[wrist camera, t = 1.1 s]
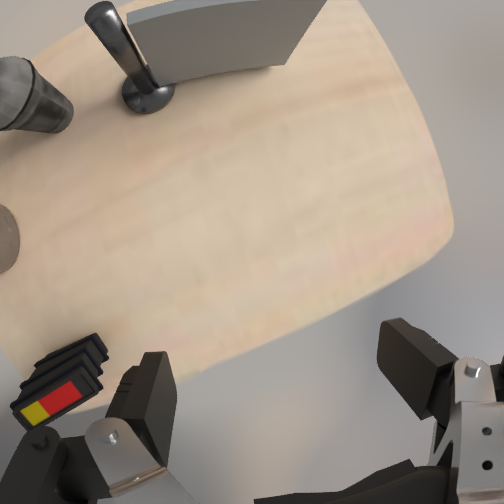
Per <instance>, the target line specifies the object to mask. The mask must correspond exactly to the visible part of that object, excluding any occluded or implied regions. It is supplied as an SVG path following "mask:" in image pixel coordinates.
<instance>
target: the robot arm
mask: <svg viewBox="0 0 504 504" xmlns="http://www.w3.org/2000/svg"><path fill="white" fill-rule="evenodd" d="M19 244H20V242H19V232H18V227H17V224H16V221H15V219H14V217H13V215H12V214H11V212H10V211H9V210H8V209H7V208H6V207H4V206H2V205H0V273H1V272H3V271H6V270H8V269H9V268H10V267H12V265H13V264H14V263H15V261H16V259H17V256H18V252H19ZM377 363H378V367H379V369H380V370H381V372H382V373H383V374H384V375H385V376H386V378H387V379H388V380H389V381H390V383H391V384H392V385H393V386H394V388H395V389H396V390H397V391H398V393H399V394H400V395H401V396H402V397H403V399H404V400H405V401H406V402H407V404H408V405H409V406H410V407H411V409H412V410H413V411H414V412H415V414H416V415H417V416H418V417H419V419H420V420H423V419H426V418H428V417H430V416H434V417H435V419H436V421H435V423H434V430H433V437H432V444H431V450H430V456H429V462H428V465H427V466H420V467H414V465H413V463H412V462H411V460H410V459H408V460H405V461H403V462H400V463H398V464H395V465H393V466H390V467H387V468H385V469H382V470H379V471H376V472H375V473H373V474H371V475H370V476H368V477H366V478H364V479H363V480H361V481H359V482H358V483H356V484H354V485H352V486H350V487H348V488H346V489H344V490H343V491H338V492H324V493H293V494H287V495H281V496H274V497H268V498H259V499H254V504H504V356H503V359H502V362H501V364H496V365H491V366H489V365H488V364H487V363H486V362H485V361H484V360H482V359H479V358H476V357H464V358H461V359H459V358H457V357H456V356H455V355H454V354H452V353H451V352H450V351H449V350H448V349H446V348H445V347H444V346H442V345H441V344H440V343H439V344H438V342H437V341H436V340H435V339H434V338H432V337H431V336H430V335H429V334H427V333H426V332H425V331H423V330H420V329H418V328H415V327H412V326H411V325H410V324H409V323H407V322H406V321H405V320H403V319H402V318H395V319H391V320H387V321H383V322H382V323H381V326H380V333H379V342H378V350H377ZM176 403H177V391H176V385H175V381H174V378H173V374H172V370H171V366H170V362H169V358H168V355H167V353H166V352H165V351H161V352H145V353H144V355H143V358H142V360H141V363H140V365H139V366H132V367H131V368H130V369H129V370H128V371H126V372H125V373H124V374H123V377H122V379H121V381H120V385H119V386H118V388H117V390H116V393H115V395H114V397H113V399H112V402H111V404H110V406H109V409H108V411H107V413H106V416H105V418H103V419H100V420H98V421H96V422H94V423H92V424H91V425H90V426H89V427H88V429H87V430H86V432H85V435H83V436H78V437H69V438H61V437H60V436H59V434H58V433H57V431H56V430H55V429H53V428H51V427H48V426H39V427H36V428H33V429H31V430H29V431H28V432H27V433H26V434H25V435H24V436H23V438H22V440H21V442H20V443H19V445H18V447H17V449H16V451H15V453H14V455H13V457H12V459H11V461H10V463H9V465H8V467H7V469H6V471H5V473H4V475H3V478H2V480H1V482H0V504H97V500H98V499H103V498H111V497H113V499H114V501H115V502H116V504H200V503H198V502H197V500H196V499H195V498H194V497H193V496H192V495H191V494H190V493H189V492H188V491H187V490H186V489H185V488H184V487H183V486H182V485H181V484H180V483H179V482H178V480H177V479H176V478H175V477H174V476H173V475H172V474H171V473H170V472H169V470H167V464H168V457H169V449H170V442H171V435H172V429H173V422H174V416H175V410H176Z"/></svg>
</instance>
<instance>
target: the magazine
mask: <svg viewBox="0 0 504 504" xmlns="http://www.w3.org/2000/svg"><path fill="white" fill-rule="evenodd" d="M107 352H108V350H107V348H106V346H105V345H104V343H103V342H102V340H101V339H100V337H99V336H98V334H97V333H94V334H92V335H90V336H87V337H85V338H83V339H81V340H79V341H77V342H74V343H72V344H70V345H68V346H66V347H63V348H61V349H59V350H57V351H55V352H53V353H50V354H48V355H47V356H46V357H45V358H44V359H42V360H40V361H38V362H36V364H35V365H34V366H35V368H36V369H35V371H34V372H33V373H32V375H31V376H30V378H29V379H28V380H26V381H24V382H22V383H21V385H20V388H21V390H22V391H21V393H20V395H19V397H18V399H17V400H16V401H14V402H12V403H11V404H10V408H11V409H12V410H13V415H14V417H15V418H16V419H17V420H18V421H19V423H20V424H21V425H22V426H23V427H24V428H25V429H26V430H27V432H28V431H29V430H31V429H33V428H36V427H39V426H45V425H46V424H48V423H50V422H51V421H54V420H55V419H57V418H58V417H60V416H62V415H64V414H65V413H67V412H69V411H70V410H72V409H74V408H76V407H77V406H79V405H81V404H82V403H84V402H86V401H87V400H89V399H90V398H92V397H94V396H95V395H97V394H98V393H99V391H101V390H102V389H103V385H102V384H101V383H100V381H99V380H98V379H97V377H98V376H100V375H102V374H103V370H102V369H101V367H100V366H101V363H103V362H105V361H107V360H108V359H109V357H108V355H107Z"/></svg>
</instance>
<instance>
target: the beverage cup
mask: <svg viewBox="0 0 504 504" xmlns="http://www.w3.org/2000/svg"><path fill="white" fill-rule="evenodd" d="M72 117H73V105H72V103H71V102H70V101H69V100H68V99H67V98H66V97H65V96H64V95H63V94H62V93H61V92H60V91H58V90H57V89H56V88H55V87H54V86H53V85H51V84H50V83H49V82H48V81H47V80H45V79H44V78H43V77H42V76H41V75H40V74H39V73H38V71H37V70H36V69H35V68H34V66H33V64H32V63H31V61H29V60H27V59H25V58H19V57H15V56H9V57H3V58H0V131H6V130H12V129H17V130H27V131H36V132H45V133H58V132H61V131H62V130H64V129H65V128H66V127H67V126H68V125H69V123H70V122H71V120H72Z"/></svg>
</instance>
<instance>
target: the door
mask: <svg viewBox="0 0 504 504" xmlns="http://www.w3.org/2000/svg"><path fill="white" fill-rule="evenodd" d="M326 1H327V0H174V1H169V2H165V3H161V4H157V5H153V6H149V7H146V8H142V9H139V10H135V11H132V12H129V13H126V15H127V26H128V28H129V29H130V31H131V33H132V35H133V37H134V39H135V41H136V43H137V45H138V47H139V49H140V51H141V52H142V54H143V56H144V58H145V60H146V62H147V64H148V66H149V68H150V70H151V72H152V73H153V75H154V77H155V79H156V81H157V83H158V85H159V87H161V86H165V85H168V84H172V83H176V82H181V81H185V80H189V79H194V78H198V77H203V76H208V75H213V74H219V73H224V72H230V71H237V70H243V69H251V68H258V67H267V66H277V65H285V63H286V62H287V60H288V58H289V57H290V55H291V54H292V52H293V50H294V49H295V47H296V46H297V44H298V43H299V41H300V40H301V38H302V37H303V35H304V33H305V32H306V30H307V29H308V27H309V26H310V24H311V23H312V21H313V20H314V19H315V17H316V16H317V14H318V13H319V11H320V10H321V8H322V7H323V5H324V4H325V3H326Z"/></svg>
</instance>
